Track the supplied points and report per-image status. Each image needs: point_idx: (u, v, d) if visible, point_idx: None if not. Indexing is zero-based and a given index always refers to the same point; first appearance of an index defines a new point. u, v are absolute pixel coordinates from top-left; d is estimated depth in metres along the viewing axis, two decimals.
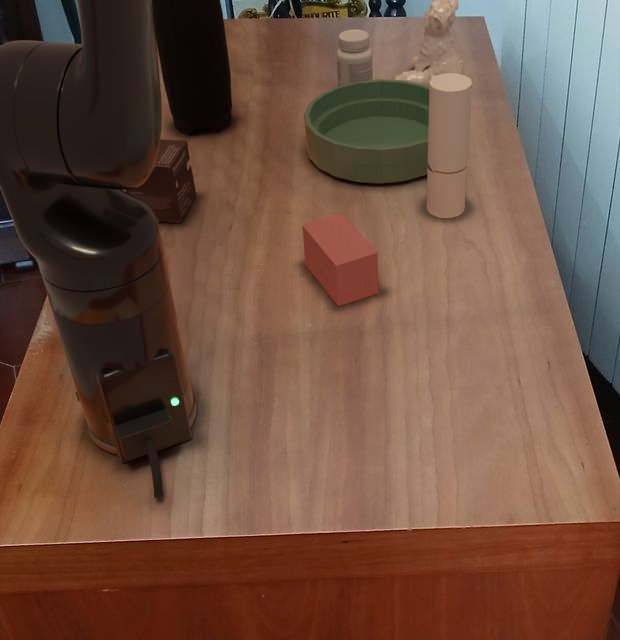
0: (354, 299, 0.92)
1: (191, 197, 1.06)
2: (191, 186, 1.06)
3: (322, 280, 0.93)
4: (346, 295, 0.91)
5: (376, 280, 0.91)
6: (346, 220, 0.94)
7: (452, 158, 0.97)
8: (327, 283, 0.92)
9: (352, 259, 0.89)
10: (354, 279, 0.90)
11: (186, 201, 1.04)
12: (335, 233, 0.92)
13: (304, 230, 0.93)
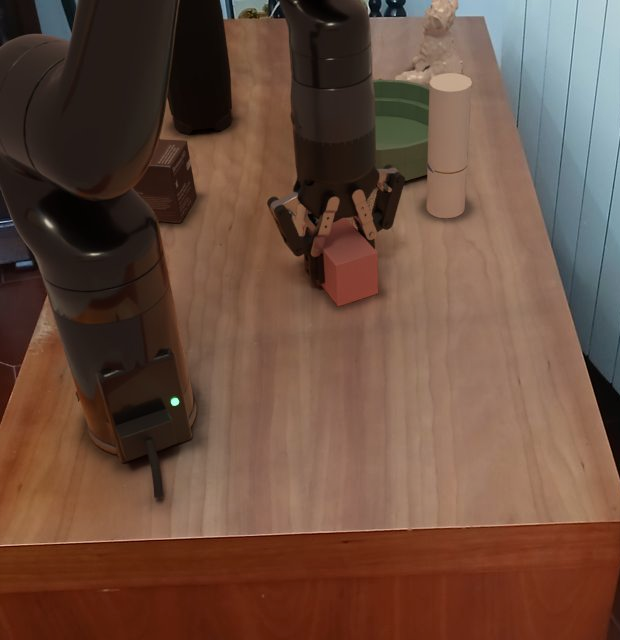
0: (354, 299, 0.92)
1: (191, 197, 1.06)
2: (191, 186, 1.06)
3: None
4: (346, 295, 0.91)
5: (376, 280, 0.91)
6: (346, 220, 0.94)
7: (452, 158, 0.97)
8: (327, 283, 0.92)
9: (352, 259, 0.89)
10: (354, 279, 0.90)
11: (186, 201, 1.04)
12: (335, 233, 0.92)
13: None
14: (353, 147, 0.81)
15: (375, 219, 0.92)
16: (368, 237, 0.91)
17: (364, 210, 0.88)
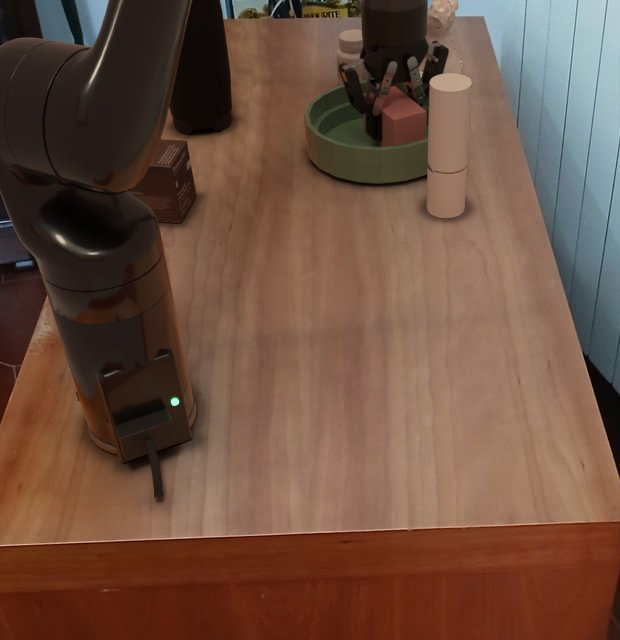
0: None
1: (191, 197, 1.06)
2: (191, 186, 1.06)
3: None
4: None
5: (424, 136, 1.12)
6: (398, 90, 1.14)
7: (452, 158, 0.97)
8: (384, 140, 1.12)
9: (406, 115, 1.09)
10: (407, 134, 1.10)
11: (186, 201, 1.04)
12: (390, 98, 1.12)
13: None
14: (411, 16, 1.01)
15: (423, 87, 1.12)
16: (418, 101, 1.12)
17: (416, 76, 1.09)
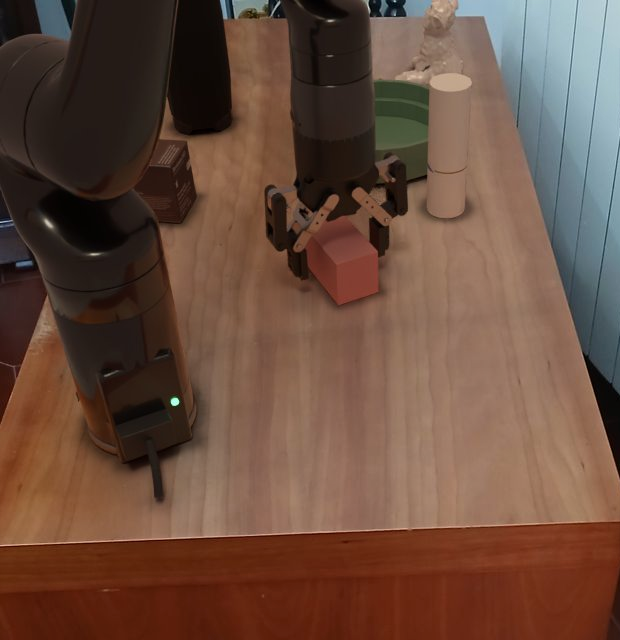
0: (354, 298, 0.92)
1: (191, 197, 1.06)
2: (191, 186, 1.06)
3: (322, 279, 0.93)
4: (346, 294, 0.91)
5: (376, 279, 0.91)
6: (346, 219, 0.94)
7: (452, 158, 0.97)
8: (327, 282, 0.92)
9: (352, 258, 0.89)
10: (354, 278, 0.90)
11: (186, 201, 1.04)
12: (335, 232, 0.92)
13: None
14: (353, 144, 0.81)
15: None
16: (383, 223, 0.91)
17: (370, 203, 0.88)
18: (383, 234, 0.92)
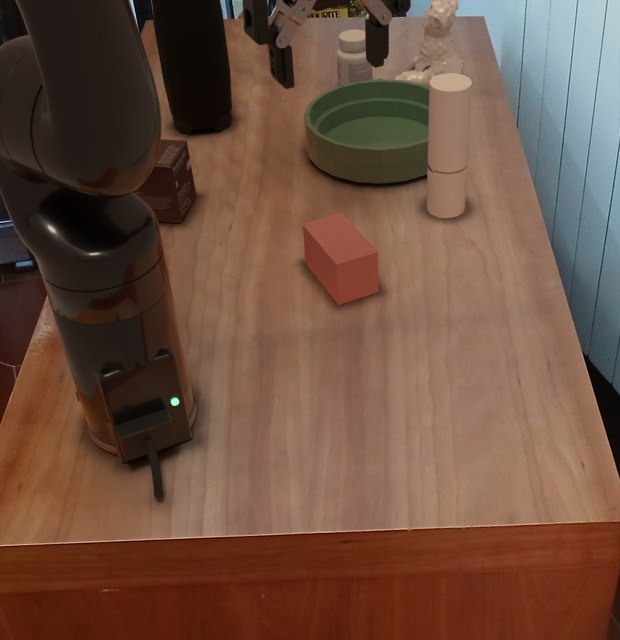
0: (354, 298, 0.92)
1: (191, 197, 1.06)
2: (191, 186, 1.06)
3: (322, 279, 0.93)
4: (346, 294, 0.91)
5: (376, 279, 0.91)
6: (346, 219, 0.94)
7: (452, 158, 0.97)
8: (327, 282, 0.92)
9: (352, 258, 0.89)
10: (354, 278, 0.90)
11: (186, 201, 1.04)
12: (335, 232, 0.92)
13: (304, 229, 0.93)
14: None
15: None
16: (382, 21, 0.78)
17: None
18: (382, 36, 0.79)
